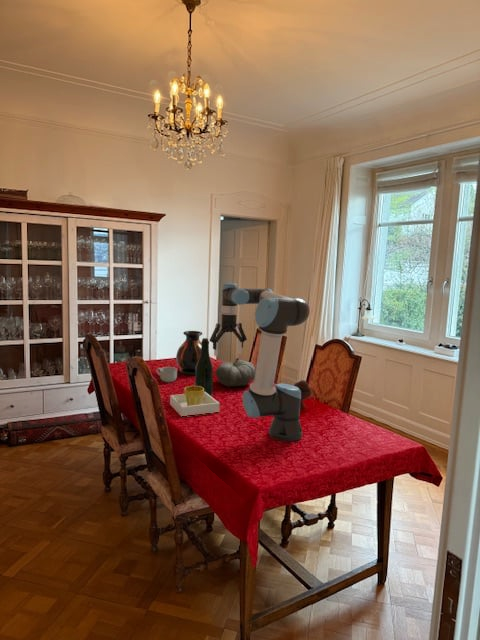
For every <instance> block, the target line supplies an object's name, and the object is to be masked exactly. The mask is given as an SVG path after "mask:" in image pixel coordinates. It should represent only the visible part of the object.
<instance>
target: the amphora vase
mask: <svg viewBox="0 0 480 640" xmlns="http://www.w3.org/2000/svg"><path fill="white" fill-rule="evenodd" d="M183 335H184V336H185V338H186V339H185V340H184V341H183V343H182V344H181V345H180V346H179V347H178V348H177V352H176V356H175V357H176V358H175V359H176V364H177V366H178V367H179V368H180V369H179V372H180V374H183V375H186V376H195V372H196V365H197V362H198V360H199V357H200V354H201V342H202V341H201V340H200V336H203V332H202V331H198V330H185V331H184V332H183Z"/></svg>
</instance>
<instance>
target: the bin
mask: <svg viewBox="0 0 480 640" xmlns="http://www.w3.org/2000/svg"><path fill="white" fill-rule="evenodd" d="M169 398H170V399H169V405H170V406H171V407H172V408H173V409H174V411H176V412H177V414H178V415H179V416H180V417H182V416H187V415H195V414H203V415H206V414H205V413H211V414H215V413H214V412H219V413H220V402H219V401H218V400H216V399H215V398H214V397H213V396H212V395H211V396H210V395H209V394H207V393H206V392H204V395H203V397H202V401H201V405H192V406H187V401H186V396H185V395H184V393H181V394H171V395H169ZM195 416H196V415H195ZM187 417H188V416H187Z"/></svg>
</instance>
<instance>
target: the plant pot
mask: <svg viewBox="0 0 480 640" xmlns="http://www.w3.org/2000/svg"><path fill="white" fill-rule="evenodd" d="M183 394H184V395H185V396H186V401H187V406H192V405H201V401H202V397H203V395H204V388H203V387H200V386H195V385H190V386H189V385H188V386H185V387H184V389H183Z"/></svg>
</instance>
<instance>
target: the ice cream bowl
mask: <svg viewBox="0 0 480 640" xmlns="http://www.w3.org/2000/svg"><path fill="white" fill-rule="evenodd" d="M293 386H296V387H298V388H299V389H300V390H301V402H300V409H306V404H304V402H303V401H304V400H307V399H308V398H310V396H311V395H312V392H313V389H312V388H311V387H310V386H309V383H308V382H307V380H303V379H302V380H299V381H298V382H295V383H294V384H293Z"/></svg>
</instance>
